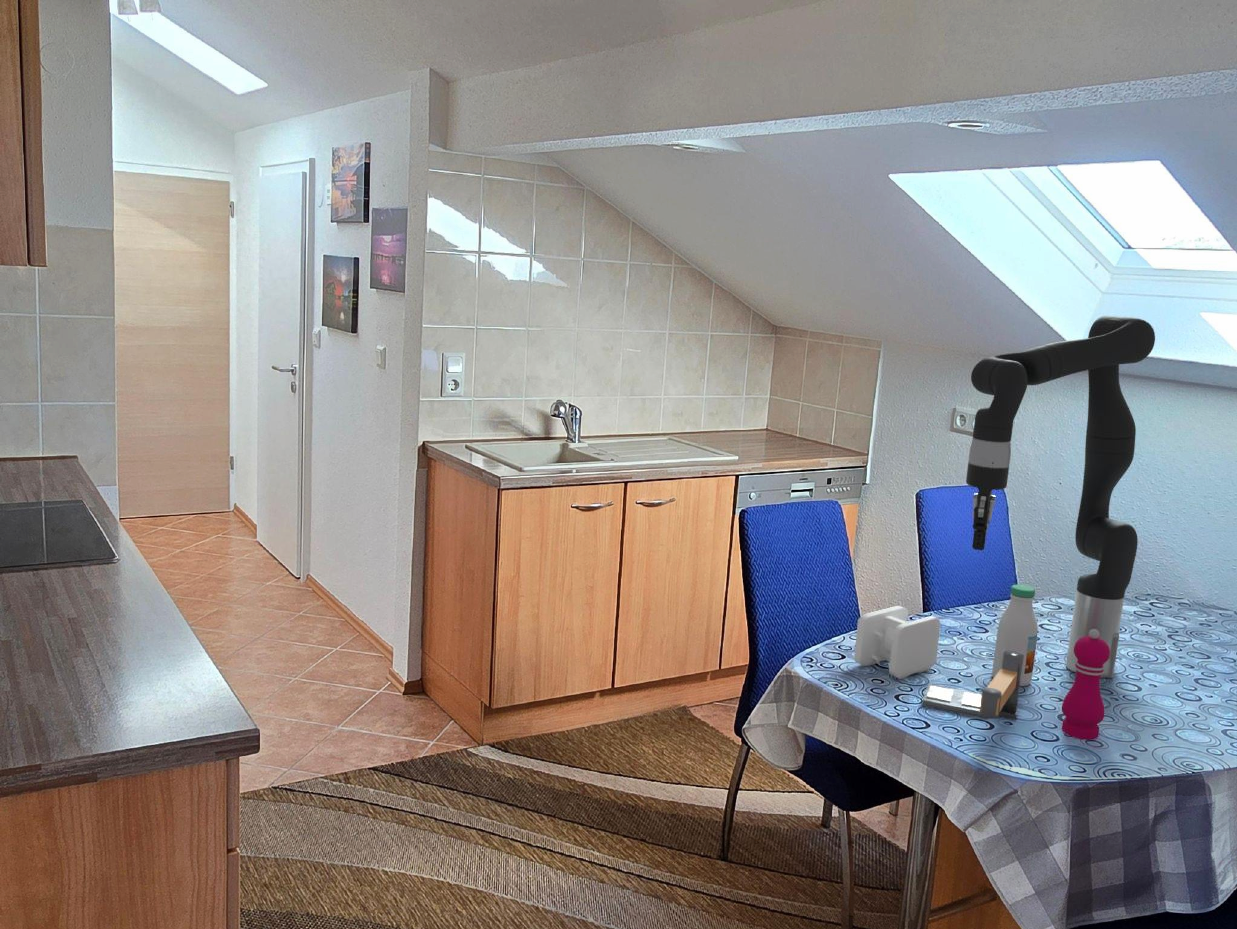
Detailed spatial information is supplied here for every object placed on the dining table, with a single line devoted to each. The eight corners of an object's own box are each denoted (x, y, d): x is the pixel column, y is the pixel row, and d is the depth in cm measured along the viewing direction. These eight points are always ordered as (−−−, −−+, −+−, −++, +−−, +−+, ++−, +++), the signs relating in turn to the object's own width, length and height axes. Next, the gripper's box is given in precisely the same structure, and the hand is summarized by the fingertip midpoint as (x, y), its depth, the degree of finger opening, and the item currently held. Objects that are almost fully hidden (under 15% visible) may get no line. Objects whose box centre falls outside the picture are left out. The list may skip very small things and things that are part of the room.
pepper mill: (1051, 723, 196) (1065, 622, 192) (1088, 724, 197) (1103, 623, 193) (1070, 741, 189) (1086, 636, 185) (1109, 741, 190) (1125, 637, 186)
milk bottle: (1012, 689, 212) (1025, 594, 208) (983, 675, 218) (995, 583, 215) (1039, 684, 215) (1052, 591, 212) (1009, 670, 222) (1021, 580, 218)
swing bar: (997, 687, 197) (1000, 664, 196) (1015, 691, 196) (1018, 669, 195) (977, 715, 184) (980, 692, 183) (996, 720, 182) (999, 696, 181)
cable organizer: (891, 683, 212) (897, 629, 209) (850, 666, 220) (855, 613, 217) (936, 669, 221) (942, 616, 219) (895, 653, 229) (900, 602, 227)
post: (1017, 711, 201) (1025, 652, 198) (1016, 719, 197) (1024, 659, 195) (995, 707, 202) (1003, 648, 200) (994, 715, 199) (1001, 655, 196)
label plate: (990, 701, 205) (991, 694, 205) (987, 719, 197) (988, 711, 196) (927, 689, 209) (928, 682, 209) (921, 705, 201) (922, 698, 201)
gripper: (1007, 470, 195) (996, 559, 198) (1011, 459, 207) (1000, 544, 210) (965, 465, 198) (954, 553, 201) (971, 455, 210) (961, 538, 213)
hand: (978, 548), depth 206 cm, fingers closed
